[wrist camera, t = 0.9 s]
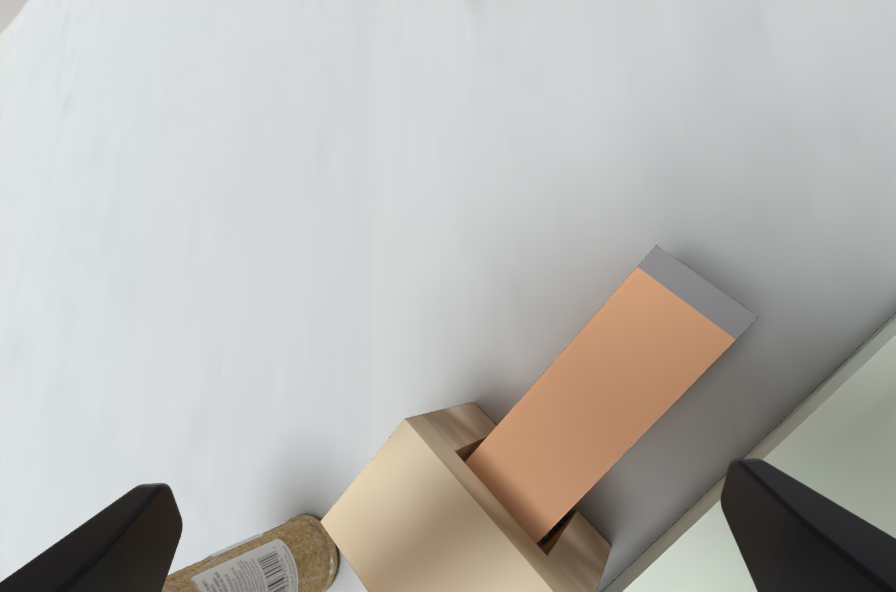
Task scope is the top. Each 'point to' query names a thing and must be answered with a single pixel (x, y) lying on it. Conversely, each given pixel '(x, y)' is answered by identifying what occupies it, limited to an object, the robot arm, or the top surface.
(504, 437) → the orange rectangular block
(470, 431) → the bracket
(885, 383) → the tray
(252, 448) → the top surface
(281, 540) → the sprinkles bottle
